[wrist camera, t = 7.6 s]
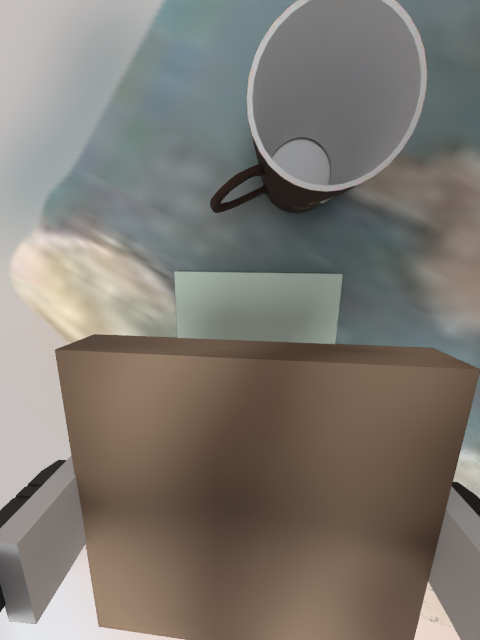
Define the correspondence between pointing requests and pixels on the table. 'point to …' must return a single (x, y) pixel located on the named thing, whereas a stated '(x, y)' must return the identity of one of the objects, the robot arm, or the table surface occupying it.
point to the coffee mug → (330, 100)
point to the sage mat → (258, 306)
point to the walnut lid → (262, 482)
